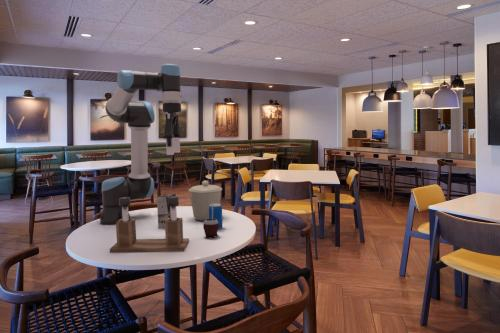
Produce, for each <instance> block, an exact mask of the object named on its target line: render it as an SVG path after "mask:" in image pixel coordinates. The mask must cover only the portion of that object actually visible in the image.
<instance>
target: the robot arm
mask: <svg viewBox="0 0 500 333" xmlns="http://www.w3.org/2000/svg"><path fill="white" fill-rule="evenodd" d="M116 77H117V78H116V83H117V88H116V90H115V91H114V93H113V95H112V96H111V97H110V98H109V99H108V100H107V101H106V103H105V105H104V106H105V108H104V110H105V113H106V114H107V116H108V117H109V118H110V119H111V120H113V121H114V122H116V123H120V124H127V127H128V128H129V129H130V153H131V154H130V155H131V157H130V160H131V161H130V166H131V167H130V168H131V169H130V170H131V171H130V173H129V174H128V178H126V179H125V177H124V176H118V177H112V178H111V177H110V178H107V179H105V180H103V181H102V183H101V195H102V196H101V197H102V198H101V200H102V211H101V215H100V217H99V222H100V224H101V225H105V226H106V225H111V226H112V225H116V222H117V221H119V220H120V219H123V217H122V206H119V198H122V197H130V201H134V200H145V199H148V198H151V197H152V195H153V194H154V190H155V181H154V180H155V179H154V178H153V177H151V174H150V173H149V172H148V169H149V168H148V164H149V162H148V161H149V160H148V158H149V157H148V154H149V153H148V150H149V149H148V146H149V144H148V142H149V141H148V140H149V137H148V136H149V135H148V134H149V129H151V124H153V123H155V117H156V116H155V114H156V113H155V110H154V106H153V105H152V103H151V102H150V101H145V100H133V97H134V96H135V95H136V93H137V92H138V91H140V90H141V91H142V90H143V91H144V90H145V91H156V92H161V100H162V112H163V113H166V114H165V121H164V122H165V123H164V124H165V126H164V136H163V139H165V145H166V156H173V155H174V154H175V153H181V140H180V138H182V135H181V129H180V121H179V115H178V114H177V113H181V112H182V104H181V102H182V99H181V98H182V97H183V95H182V94H181V70H180V66H179V65H178V64H176V63H163V64H162V65H161V66H160V72H157V71H156V72H154V71H139V70H132V69H131V70H130V69H121V70H119V71H118V72H117V76H116ZM128 215H129V219H131V214H130V213H129V211H128Z"/></svg>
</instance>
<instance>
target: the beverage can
mask: <svg viewBox="0 0 500 333" xmlns="http://www.w3.org/2000/svg"><path fill="white" fill-rule="evenodd" d="M209 218H212V204H210V206H209ZM213 218H215V219H217V221H218V223H219V229H218V231H220V230H222V228H223V207H222V204H221V203H220V204H213Z"/></svg>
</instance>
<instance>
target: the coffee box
mask: <svg viewBox="0 0 500 333" xmlns="http://www.w3.org/2000/svg"><path fill="white" fill-rule="evenodd" d="M171 196H176V193H163V194H161V195H157V197H156V198H157V199H156V203H157V205H156V206H157V228H158V229H164V230H165V221H166V220H167V219H168V218H171V210H170V205H168V197H171Z"/></svg>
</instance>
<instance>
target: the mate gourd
mask: <svg viewBox="0 0 500 333" xmlns="http://www.w3.org/2000/svg"><path fill="white" fill-rule="evenodd" d="M213 203H214V202H212V218H209V219H206V220H205V221H203V225H202V226H203V231H204V236H205V237H204V238H205V239H209V238H212V239H216V237H217V236H218V231H219V230H218V229H219V223H218V221H217V219H215V218H213Z"/></svg>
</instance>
